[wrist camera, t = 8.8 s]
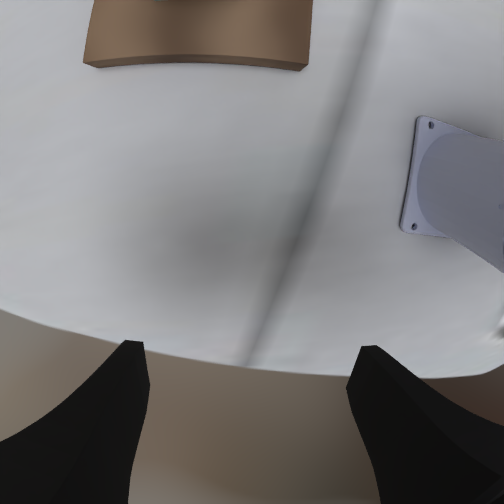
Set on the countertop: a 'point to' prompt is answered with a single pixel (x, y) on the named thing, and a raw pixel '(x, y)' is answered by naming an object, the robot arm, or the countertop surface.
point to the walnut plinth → (200, 32)
